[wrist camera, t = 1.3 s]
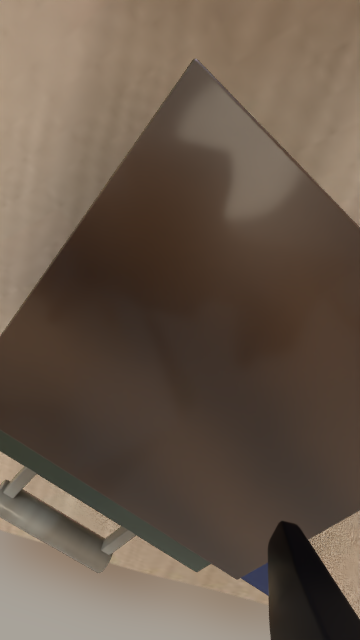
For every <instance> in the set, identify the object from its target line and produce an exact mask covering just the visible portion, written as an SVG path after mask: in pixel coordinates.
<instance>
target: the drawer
mask: <svg viewBox="0 0 360 640" xmlns="http://www.w3.org/2000/svg"><path fill="white" fill-rule="evenodd" d="M0 451H1V452H3V453H4V454H6V455H7V456H9V457H11V458H12V459H14V460H16V461H17V462H19V463H20V464H22V465H24V467H23V468H22V470H21V471H20V472H19V473H18V474H17V475H16V476H15V477H14V478H13V479H12V480H11V481H8V480H4V481H3V482H2V483H1V485H0V517H1V518H2V519H4V520H6V521H8V522H9V523H11V524H13V525H15V526H16V527H18V528H20V529H22V530H23V531H25V532H27V533H29V534H30V535H32V536H34V537H36V538H37V539H39V540H41V541H43V542H44V543H46V544H48V545H50V546H51V547H53V548H55V549H57V550H58V551H60V552H62V553H64V554H65V555H67V556H69V557H71V558H72V559H74V560H76V561H78V562H79V563H81V564H83V565H85V566H86V567H88V568H90V569H91V570H93V571H95V572H97V573H101V572H102V571H103V570H104V569H105V568H106V566H107V565H108V563H109V561H110V559H111V557H112V554H113V552H114V551H116V550H117V549H118V548H120V547H121V546H122V545H124V544H125V543H126V542H128V541H129V540H131V539H132V538H133V537H135V536H136V535H137V536H139V537H140V538H142V539H143V540H145V541H147V542H148V543H150V544H151V545H153V546H155V547H156V548H158V549H160V550H161V551H163V552H164V553H166V554H168V555H169V556H171V557H172V558H174V559H176V560H177V561H179V562H181V563H182V564H184V565H185V566H187V567H189V568H190V569H192V570H194V571H195V572H198V571H200V570H201V569H203V568H205V567H206V566H208V565H210V564H211V563H210V562H208V561H207V560H205V559H203V558H202V557H200V556H199V555H197V554H196V553H194V552H192V551H191V550H189V549H188V548H186V547H184V546H183V545H181V544H180V543H178V542H177V541H175V540H173V539H172V538H170V537H169V536H167V535H165V534H164V533H162V532H161V531H159V530H158V529H156V528H154V527H153V526H151V525H150V524H148V523H147V522H145V521H143V520H142V519H140V518H139V517H137V516H135V515H134V514H132V513H131V512H129V511H128V510H126V509H124V508H123V507H121V506H120V505H118V504H116V503H115V502H113V501H112V500H110V499H109V498H107V497H105V496H104V495H102V494H101V493H99V492H98V491H96V490H94V489H93V488H91V487H90V486H88V485H86V484H85V483H83V482H82V481H80V480H79V479H77V478H75V477H74V476H72V475H71V474H69V473H67V472H66V471H64V470H63V469H61V468H60V467H58V466H56V465H55V464H53V463H52V462H50V461H49V460H47V459H45V458H44V457H42V456H41V455H39V454H37V453H36V452H34V451H33V450H31V449H30V448H28V447H26V446H25V445H23V444H22V443H20V442H18V441H17V440H15V439H14V438H12V437H11V436H9V435H7V434H6V433H4V432H3V431H1V430H0ZM36 474H38V475H40V476H41V477H43V478H45V479H46V480H48V481H50V482H51V483H53V484H54V485H56V486H58V487H59V488H61V489H62V490H64V491H66V492H67V493H69V494H71V495H72V496H74V497H75V498H77V499H79V500H80V501H82V502H83V503H85V504H87V505H88V506H90V507H92V508H93V509H95V510H96V511H98V512H100V513H101V514H103V515H105V516H106V517H108V518H109V519H111V520H113V521H114V522H116V523H117V524H119V525H121V527H120V528H119V529H117V530H116V531H115V532H113V533H112V534H111V535H110V536H108V537H107V538H106V539H105V538H103V537H101V536H100V535H98V534H96V533H95V532H93V531H91V530H90V529H88V528H86V527H85V526H83V525H81V524H80V523H78V522H76V521H75V520H73V519H71V518H70V517H68V516H66V515H65V514H63V513H61V512H60V511H58V510H56V509H55V508H53V507H51V506H50V505H48V504H47V503H45V502H43V501H42V500H40V499H38V498H37V497H35V496H33V495H32V494H30V493H28V492H27V491H25V490H23V488H24V487H25V485H26V484H27V483H28V482H29V481H30V480H31V479H32V478H33V477H34V476H35V475H36Z"/></svg>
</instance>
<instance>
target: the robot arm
mask: <svg viewBox="0 0 360 640" xmlns="http://www.w3.org/2000/svg"><path fill="white" fill-rule="evenodd" d="M268 590H269V620H270V621H269V622H270V634H271V640H360V619H359V618H358V616H357V615H356V613H355V612H354V610H353V608H352V607H351V605H350V604H349V602H348V601H347V599H346V598H345V596H344V595H343V593H342V592H341V590H340V588H339V587H338V585H337V584H336V582H335V581H334V579H333V578H332V576H331V575H330V573H329V572H328V570H327V568H326V567H325V565H324V564H323V562H322V561H321V559H320V558H319V556H318V555H317V553H316V551H315V550H314V548H313V547H312V545H311V544H310V542H309V541H308V539H307V538H306V536H305V535H304V533H303V531H302V530H301V528H300V527H299V526H298V525H297V524H295V523H291V522H286V521H280V522H279V523H278V525H277V527H276V529H275V531H274V532H273V534H272V536H271V538H270V540H269V543H268Z"/></svg>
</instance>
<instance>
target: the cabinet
mask: <svg viewBox="0 0 360 640" xmlns="http://www.w3.org/2000/svg"><path fill="white" fill-rule="evenodd" d="M0 430H1V431H3V432H4V433H6V434H7V435H9V436H11V437H12V438H14V439H15V440H17V441H18V442H20V443H22V444H23V445H25V446H26V447H28V448H30V449H31V450H33V451H34V452H36V453H37V454H39V455H41V456H42V457H44V458H45V459H47V460H49V461H50V462H52V463H53V464H55V465H56V466H58V467H60V468H61V469H63V470H64V471H66V472H67V473H69V474H71V475H72V476H74V477H75V478H77V479H79V480H80V481H82V482H83V483H85V484H86V485H88V486H90V487H91V488H93V489H94V490H96V491H98V492H99V493H101V494H102V495H104V496H105V497H107V498H109V499H110V500H112V501H113V502H115V503H116V504H118V505H120V506H121V507H123V508H124V509H126V510H128V511H129V512H131V513H132V514H134V515H135V516H137V517H139V518H140V519H142V520H143V521H145V522H147V523H148V524H150V525H151V526H153V527H154V528H156V529H158V530H159V531H161V532H162V533H164V534H165V535H167V536H169V537H170V538H172V539H173V540H175V541H177V542H178V543H180V544H181V545H183V546H184V547H186V548H188V549H189V550H191V551H192V552H194V553H196V554H197V555H199V556H200V557H202V558H203V559H205V560H207V561H208V562H210V563H211V564H213V565H214V566H216V567H218V568H219V569H221V570H222V571H224V572H226V573H227V574H229V575H230V576H232V577H233V578H235V579H240V578H241V577H243V576H245V575H247V574H248V573H250V572H252V571H254V570H256V569H257V568H259V567H261V566H263V565H264V564H266V563H268V543H269V540H270V538H271V536H272V534H273V532H274V531H275V529H276V527H277V525H278V523H279V522H280V521H286V522H291V523H295V524H297V525H298V526H299V527H300V528H301V530H302V531H303V533H304V535H305V536H306V538H307V539H310V538H312V537H314V536H315V535H317V534H319V533H321V532H322V531H324V530H326V529H328V528H329V527H331V526H333V525H335V524H336V523H338V522H340V521H342V520H344V519H345V518H347V517H349V516H351V515H352V514H354V513H356V512H358V511H359V510H360V227H359V226H358V225H357V224H356V223H355V222H354V221H353V220H352V219H351V218H350V217H349V216H348V215H347V214H346V213H345V212H344V210H343V209H342V208H341V207H340V206H339V205H338V204H337V203H336V202H335V201H334V200H333V199H332V198H331V197H330V196H329V195H328V194H327V193H326V192H325V191H324V190H323V189H322V188H321V187H320V186H319V185H318V184H317V183H316V182H315V180H314V179H313V178H312V177H311V176H310V175H309V174H308V173H307V172H306V171H305V170H304V169H303V168H302V167H301V166H300V165H299V164H298V163H297V162H296V161H295V160H294V159H293V158H292V157H291V156H290V155H289V154H288V153H287V152H286V150H285V149H284V148H283V147H282V146H281V145H280V144H279V143H278V142H277V141H276V140H275V139H274V138H273V137H272V136H271V135H270V134H269V133H268V132H267V131H266V130H265V129H264V128H263V127H262V126H261V125H260V124H259V123H258V122H257V120H256V119H255V118H254V117H253V116H252V115H251V114H250V113H249V112H248V111H247V110H246V109H245V108H244V107H243V106H242V105H241V104H240V103H239V102H238V101H237V100H236V99H235V98H234V97H233V96H232V95H231V94H230V93H229V92H228V90H227V89H226V88H225V87H224V86H223V85H222V84H221V83H220V82H219V81H218V80H217V79H216V78H215V77H214V76H213V75H212V74H211V73H210V72H209V71H208V70H207V69H206V68H205V67H204V66H203V65H202V64H201V63H200V62H199V60H198V59H193V60H192V62H191V63H190V65H189V66H188V68H187V69H186V70H185V72H184V73H183V75H182V76H181V78H180V79H179V80H178V82H177V83H176V85H175V86H174V88H173V89H172V90H171V92H170V93H169V95H168V96H167V98H166V99H165V101H164V102H163V103H162V105H161V106H160V108H159V109H158V111H157V112H156V113H155V115H154V116H153V118H152V119H151V121H150V122H149V123H148V125H147V126H146V128H145V129H144V131H143V132H142V134H141V135H140V136H139V138H138V139H137V141H136V142H135V144H134V145H133V146H132V148H131V149H130V151H129V152H128V154H127V155H126V156H125V158H124V159H123V161H122V162H121V164H120V165H119V166H118V168H117V169H116V171H115V172H114V174H113V175H112V177H111V178H110V179H109V181H108V182H107V184H106V185H105V187H104V188H103V189H102V191H101V192H100V194H99V195H98V197H97V198H96V199H95V201H94V202H93V204H92V205H91V207H90V208H89V210H88V211H87V212H86V214H85V215H84V217H83V218H82V220H81V221H80V222H79V224H78V225H77V227H76V228H75V230H74V231H73V232H72V234H71V235H70V237H69V238H68V240H67V241H66V243H65V244H64V245H63V247H62V248H61V250H60V251H59V253H58V254H57V255H56V257H55V258H54V260H53V261H52V263H51V264H50V265H49V267H48V268H47V270H46V271H45V273H44V274H43V276H42V277H41V278H40V280H39V281H38V283H37V284H36V286H35V287H34V288H33V290H32V291H31V293H30V294H29V296H28V297H27V298H26V300H25V301H24V303H23V304H22V306H21V307H20V308H19V310H18V311H17V313H16V314H15V316H14V317H13V319H12V320H11V321H10V323H9V324H8V326H7V327H6V329H5V330H4V331H3V333H2V334H1V336H0Z"/></svg>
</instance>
